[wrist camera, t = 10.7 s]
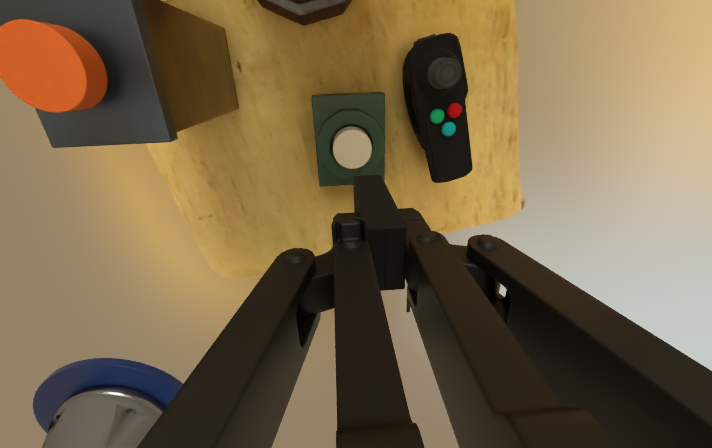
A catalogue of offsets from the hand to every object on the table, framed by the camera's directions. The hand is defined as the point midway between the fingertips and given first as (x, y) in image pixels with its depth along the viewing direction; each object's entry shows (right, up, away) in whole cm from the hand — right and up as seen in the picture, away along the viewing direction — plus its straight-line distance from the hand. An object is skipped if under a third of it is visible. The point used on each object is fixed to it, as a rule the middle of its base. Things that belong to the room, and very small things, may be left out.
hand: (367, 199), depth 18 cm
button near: (-14, +6, -3) cm, 16 cm away
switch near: (-16, +13, +13) cm, 24 cm away
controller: (+6, +11, +16) cm, 20 cm away
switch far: (-1, +8, +17) cm, 18 cm away
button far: (-1, +6, +13) cm, 15 cm away
